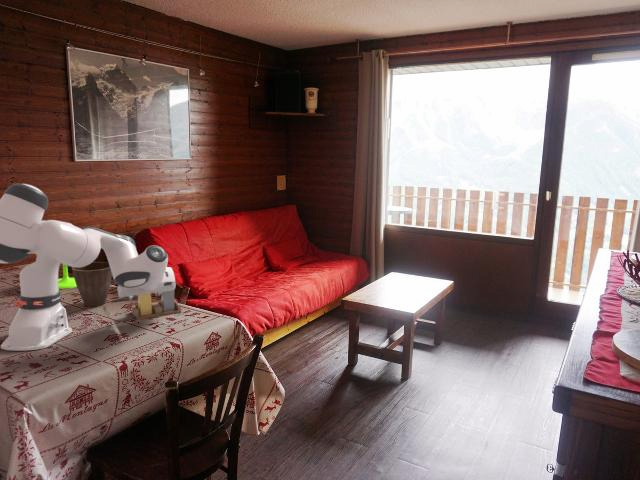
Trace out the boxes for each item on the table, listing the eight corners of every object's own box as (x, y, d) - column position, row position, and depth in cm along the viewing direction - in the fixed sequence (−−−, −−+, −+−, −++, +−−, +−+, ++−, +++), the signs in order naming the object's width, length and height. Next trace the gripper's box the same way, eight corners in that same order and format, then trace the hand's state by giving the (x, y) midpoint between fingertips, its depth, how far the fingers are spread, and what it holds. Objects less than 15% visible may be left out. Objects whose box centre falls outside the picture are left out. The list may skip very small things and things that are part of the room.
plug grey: (174, 311, 184) (174, 286, 182) (164, 312, 182) (163, 287, 180) (171, 308, 187) (171, 284, 185) (161, 309, 185) (160, 285, 183)
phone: (153, 299, 199) (116, 305, 190) (153, 301, 199) (116, 308, 190) (146, 294, 205) (110, 300, 196) (146, 297, 205) (110, 303, 196)
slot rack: (181, 315, 183) (181, 305, 182) (137, 322, 174) (136, 312, 173) (174, 308, 190) (174, 299, 190) (131, 315, 182) (131, 305, 181)
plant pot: (67, 309, 185) (64, 270, 182) (84, 297, 200) (82, 261, 197) (105, 310, 186) (103, 271, 183) (120, 298, 201) (118, 262, 198)
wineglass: (51, 280, 224) (48, 243, 221) (88, 278, 229) (85, 242, 226) (42, 289, 209) (39, 250, 206) (82, 287, 214) (79, 249, 211)
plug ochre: (151, 314, 179) (150, 289, 177) (140, 316, 177) (139, 291, 175) (149, 311, 182) (148, 286, 181) (138, 313, 180) (137, 288, 178)
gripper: (120, 288, 162) (116, 307, 172) (179, 281, 173) (172, 299, 183) (117, 273, 165) (113, 292, 175) (176, 267, 176) (169, 285, 186)
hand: (144, 296), depth 179 cm, fingers open, 8 cm apart
